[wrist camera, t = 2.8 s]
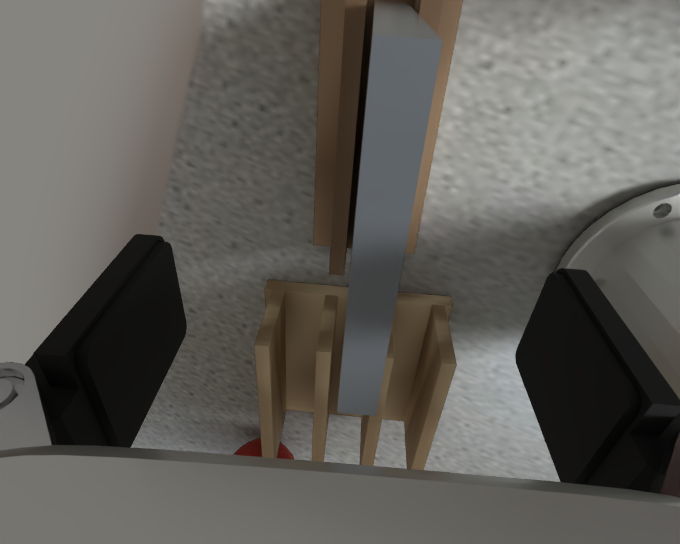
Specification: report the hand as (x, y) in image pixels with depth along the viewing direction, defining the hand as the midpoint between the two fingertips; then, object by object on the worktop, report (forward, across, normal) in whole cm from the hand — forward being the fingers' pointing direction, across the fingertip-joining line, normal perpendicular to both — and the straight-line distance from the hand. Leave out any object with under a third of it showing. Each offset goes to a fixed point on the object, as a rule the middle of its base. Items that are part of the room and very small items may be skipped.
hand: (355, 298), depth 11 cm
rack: (+14, -1, +16) cm, 21 cm away
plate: (+13, -1, 0) cm, 13 cm away
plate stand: (+14, -1, 0) cm, 14 cm away
